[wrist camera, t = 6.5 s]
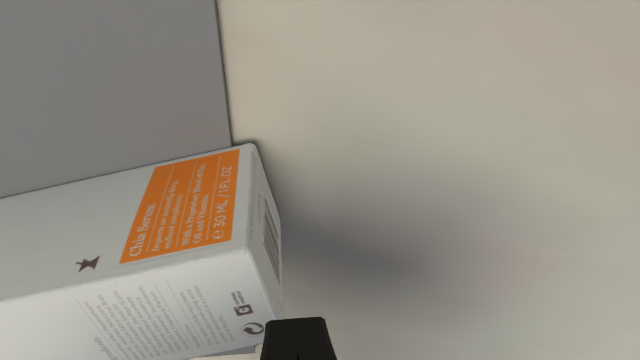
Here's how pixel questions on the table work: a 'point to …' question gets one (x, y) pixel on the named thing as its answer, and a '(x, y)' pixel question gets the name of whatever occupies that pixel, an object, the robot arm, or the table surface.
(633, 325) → the table surface
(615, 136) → the table surface
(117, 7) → the mat
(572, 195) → the table surface
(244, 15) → the table surface
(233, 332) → the skincare box
